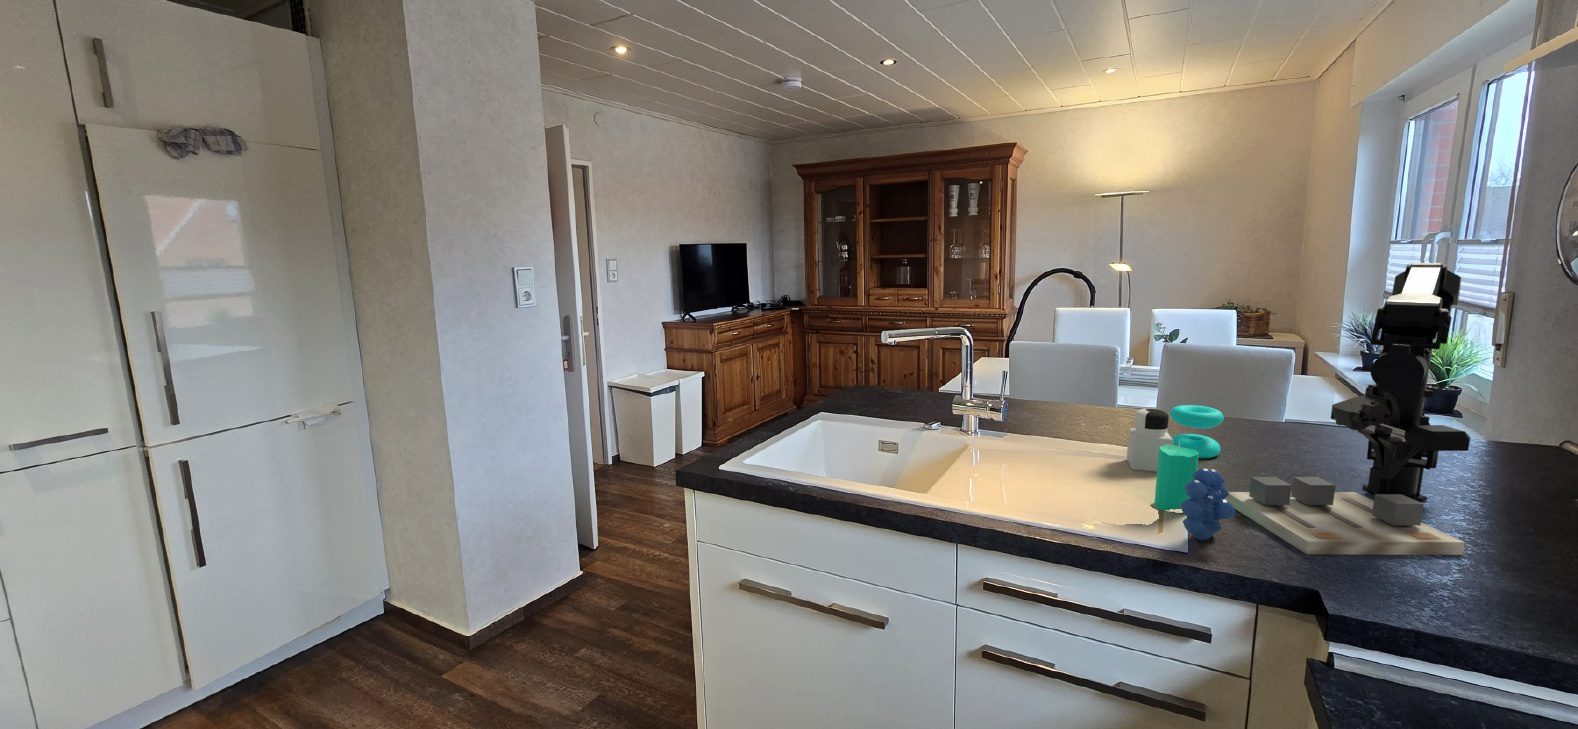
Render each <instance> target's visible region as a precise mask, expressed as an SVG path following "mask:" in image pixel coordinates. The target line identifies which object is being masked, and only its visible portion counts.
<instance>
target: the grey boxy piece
mask: <svg viewBox="0 0 1578 729" xmlns="http://www.w3.org/2000/svg"><path fill="white" fill-rule="evenodd" d="M1373 500H1374V504H1373V511H1372V515H1373V516H1375V517H1377V518H1379V519H1381V520H1383V521H1385V522H1387V523H1389V524H1391V525H1407V526H1421V522H1422V519H1423V512H1424V506H1425V504H1424V502H1420V501H1419V500H1413V499H1411V498H1409V497H1406V496H1404V495H1402V494H1376V493H1374V499H1373Z"/></svg>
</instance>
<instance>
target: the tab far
mask: <svg viewBox="0 0 1578 729" xmlns="http://www.w3.org/2000/svg"><path fill="white" fill-rule="evenodd" d="M1292 485H1293V484H1290V483H1289V482H1286V481H1284V480H1282V479H1280V478H1278V477H1276V476H1251V477H1250V486H1249V492H1250V493H1249V496H1250V497H1251V498H1253V499H1255V500H1256V501H1258V502H1260V503H1262V504H1263V505H1289V503H1290V495H1291V492H1292Z"/></svg>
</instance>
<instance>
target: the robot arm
mask: <svg viewBox="0 0 1578 729" xmlns="http://www.w3.org/2000/svg"><path fill="white" fill-rule="evenodd" d="M1461 283H1462V276H1460V275H1458V274H1456V273H1454V272H1452V271H1451V270H1449V269H1448V264H1444V263H1442V262H1413V263H1411V264H1406V268H1405V270H1404V271H1402V272H1400V273H1398V274H1397V275H1395V276H1394V282H1393V287H1392V290H1391V291H1392V292H1391V295H1389V296H1388V297H1387V298H1386V299H1385V301H1384V303H1383V306H1378V307H1377V311H1376V317H1375V320H1374V325H1373V329H1372V333H1371V338H1370V344H1369V345H1370V346H1371V345H1372V346H1383V347H1382V349H1380V353H1379V356H1378V357H1377V359H1375V360H1374V362H1373V364H1372V365H1371V367H1370V377H1371V379H1372V381H1373V382H1374V384H1368V386H1367V387H1365V393H1364V395H1361V396H1356V397H1351V398H1347V399H1346V400H1342V401H1338V402H1337V403H1333V404H1332V405H1331V413H1330V419H1331V420H1334V421H1335V423H1336V425H1337V426H1344V427H1347V428H1349V430H1352V431H1357V432H1358V434H1361V435H1362V436H1364V437H1365V438H1366V439H1367V440H1368V443H1367V453H1366V460H1369V461H1373V462H1372V466H1371V467H1370V469H1369V477H1368V484H1363V485H1362V488H1363V489H1365V490H1366V491H1369V492H1371V493H1373V494H1402V495H1404V496H1406V497H1409V498H1411V499H1413V500H1416V501H1428V499H1429V498H1428V496H1425V495H1424V494H1421V489H1422V481H1423V476H1424V469H1425V470H1427V471H1428V470H1429V471H1430V470H1431V469H1437V464H1438V460H1439V452H1464V451H1465V452H1468V451H1469V448H1470V442H1471V436H1470V435H1469V434H1468V433H1467V432H1466V431H1464V430H1461V429H1457V428H1454V427H1451V426H1447V425H1444V424H1443V425H1442V424H1438V425H1437V424H1436V425H1435V424H1430V419H1431V418H1430V416H1427V415H1425V413H1424V412H1423V411H1424V405H1425V404H1424V403H1425V398H1433V397H1434V393H1435V392H1434V391H1435V390H1431V389H1427V384H1428V377H1429V372H1430V364H1431V359H1432V353H1433V350H1440V349H1441V345H1442V344H1443V345H1446V344H1447V343H1448V339H1449V333H1450V328H1451V324H1452V319H1453V318H1452V316H1451V313H1452V308H1453V307H1452V306H1458V303H1459V297H1460V292H1461V291H1460V290H1461ZM1379 336H1380V338H1379ZM1434 341H1435V342H1434Z"/></svg>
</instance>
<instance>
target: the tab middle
mask: <svg viewBox="0 0 1578 729" xmlns="http://www.w3.org/2000/svg"><path fill="white" fill-rule="evenodd" d="M1291 485H1292V487H1291V492H1292V493H1291V496H1292V497H1293V498H1295V499H1297V500H1299V501H1301V502H1303V503H1305V504H1307V505H1333V501H1334V494H1335V492H1336V486H1337V485H1336V484H1333V483H1332V482H1330V481H1327V480H1325V479H1323V478H1321V477H1319V476H1293V477H1292V484H1291Z"/></svg>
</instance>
